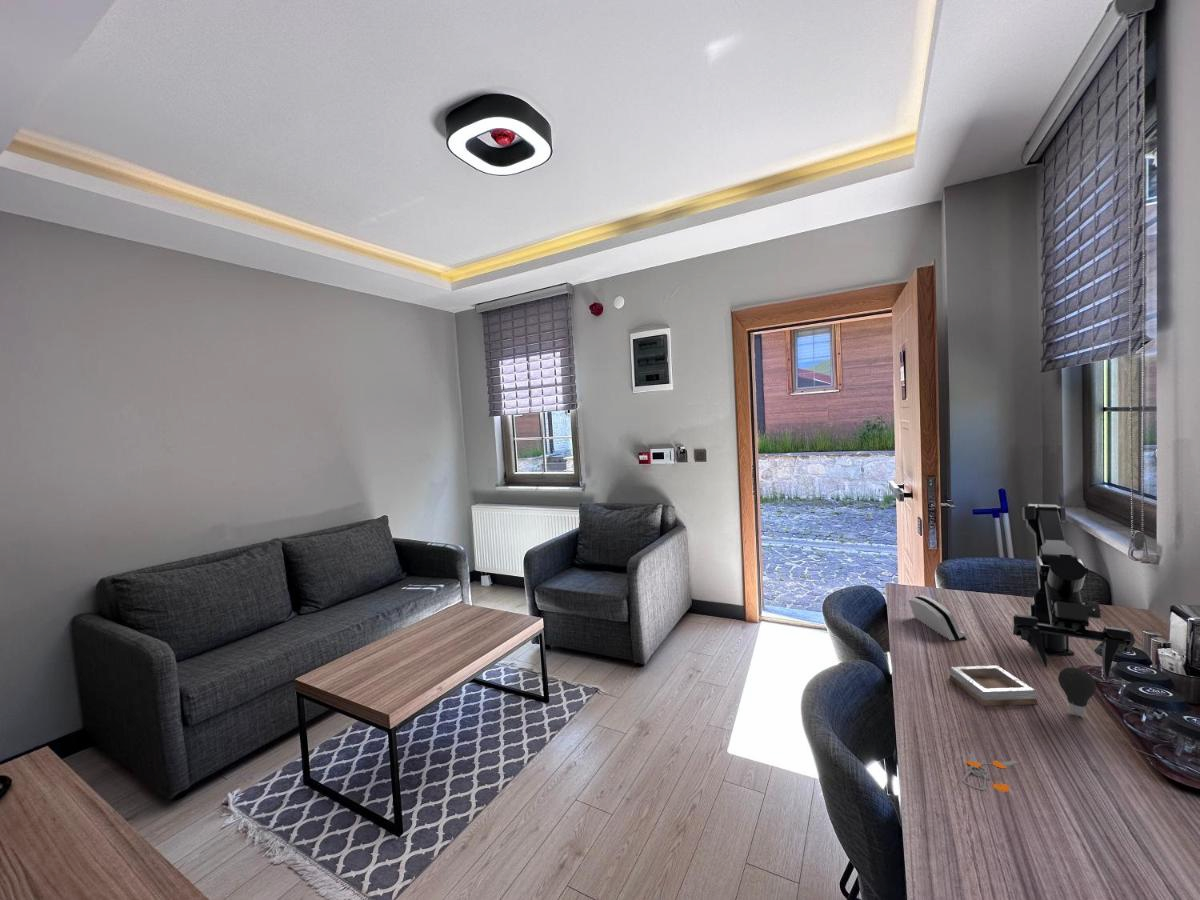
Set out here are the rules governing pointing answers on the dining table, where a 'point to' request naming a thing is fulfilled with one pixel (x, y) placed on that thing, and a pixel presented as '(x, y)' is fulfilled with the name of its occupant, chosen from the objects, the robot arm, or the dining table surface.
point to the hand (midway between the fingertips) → (1075, 671)
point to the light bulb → (1077, 689)
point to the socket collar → (1014, 693)
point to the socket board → (992, 683)
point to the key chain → (977, 765)
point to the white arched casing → (935, 617)
